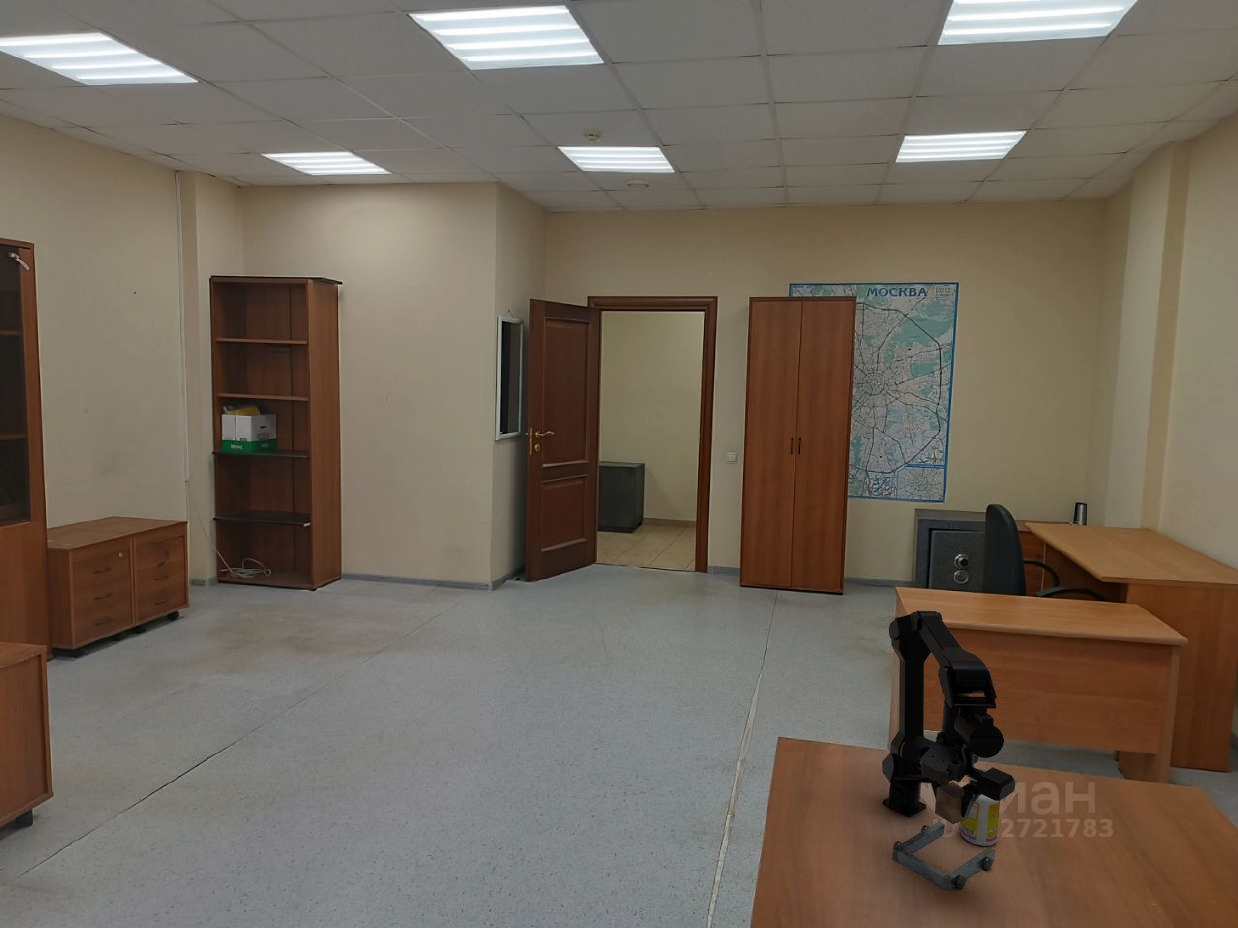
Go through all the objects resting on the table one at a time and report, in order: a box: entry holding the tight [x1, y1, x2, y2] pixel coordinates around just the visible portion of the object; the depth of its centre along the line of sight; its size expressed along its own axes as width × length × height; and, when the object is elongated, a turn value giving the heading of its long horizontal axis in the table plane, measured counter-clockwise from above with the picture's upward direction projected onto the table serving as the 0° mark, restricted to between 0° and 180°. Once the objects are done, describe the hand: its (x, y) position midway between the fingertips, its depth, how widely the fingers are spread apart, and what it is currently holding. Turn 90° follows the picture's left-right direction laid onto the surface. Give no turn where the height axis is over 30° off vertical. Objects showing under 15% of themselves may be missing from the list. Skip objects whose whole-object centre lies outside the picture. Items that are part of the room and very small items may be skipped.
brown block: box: [934, 781, 969, 825], centre depth 148 cm, size 4×4×5 cm
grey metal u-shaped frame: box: [891, 821, 996, 892], centre depth 154 cm, size 15×13×2 cm
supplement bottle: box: [959, 781, 1001, 847], centre depth 160 cm, size 7×7×13 cm
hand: (951, 810), depth 148 cm, fingers closed on brown block, 4 cm apart
